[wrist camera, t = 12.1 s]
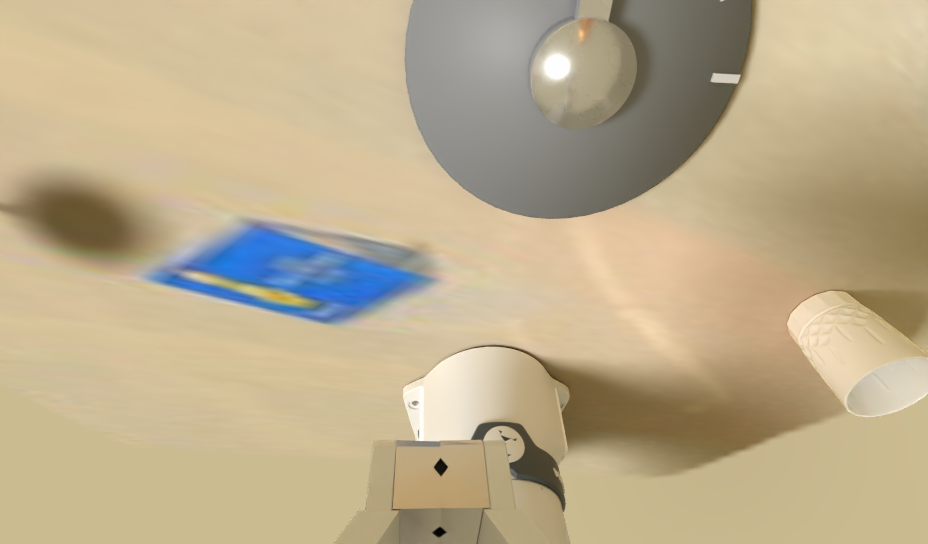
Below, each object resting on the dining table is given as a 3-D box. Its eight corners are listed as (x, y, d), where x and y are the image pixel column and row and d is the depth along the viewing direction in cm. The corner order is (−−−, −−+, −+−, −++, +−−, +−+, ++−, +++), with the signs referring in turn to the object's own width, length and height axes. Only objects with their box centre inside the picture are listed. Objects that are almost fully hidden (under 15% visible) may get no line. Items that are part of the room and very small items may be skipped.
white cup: (843, 338, 53) (917, 413, 45) (771, 345, 53) (832, 421, 45) (872, 281, 49) (959, 352, 40) (792, 289, 49) (864, 362, 41)
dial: (613, 122, 36) (643, 154, 31) (521, 117, 36) (535, 149, 31) (670, -113, 28) (722, -122, 23) (552, -123, 28) (579, -135, 23)
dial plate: (678, 216, 43) (684, 224, 42) (406, 206, 41) (405, 214, 40) (805, -135, 29) (820, -137, 28) (404, -173, 27) (403, -177, 26)
